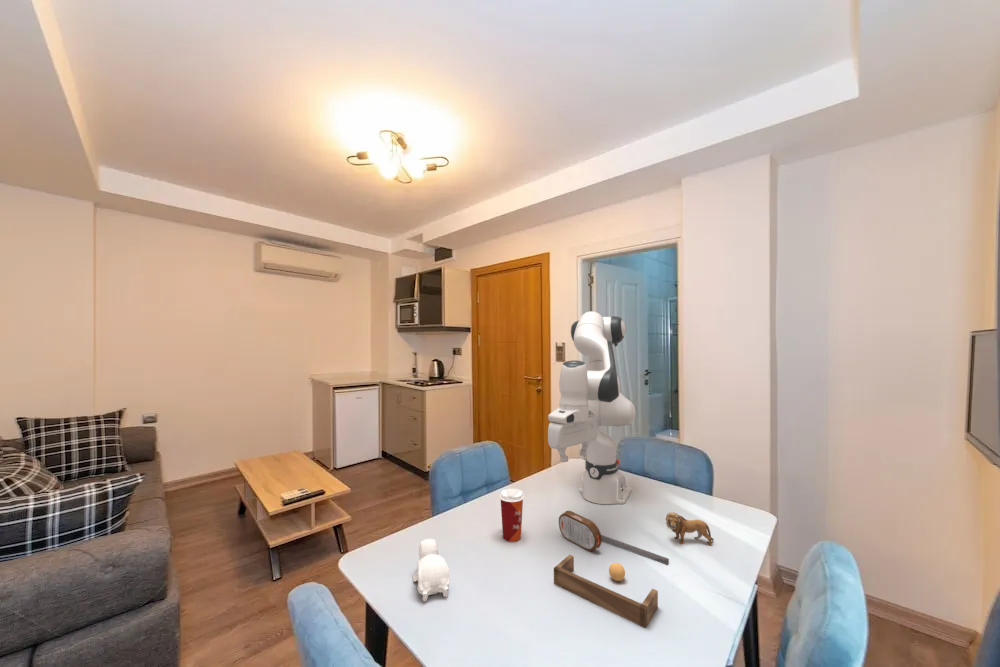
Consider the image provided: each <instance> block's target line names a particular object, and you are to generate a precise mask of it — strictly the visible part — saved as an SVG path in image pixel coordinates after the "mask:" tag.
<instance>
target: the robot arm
mask: <svg viewBox="0 0 1000 667" xmlns="http://www.w3.org/2000/svg"><path fill="white" fill-rule="evenodd" d="M625 335H626V324H625V322H624V320H623V318H622V317H620V316H614V315H611V316H602V315H601V314H600V313H599V312H597V311H593V310H592V311H591V310H590V311H586V312H585V313H583V314H582V315H581V316H580V318H579V320H576V321H574V322H573V323H572V324H571V328H570V337H571V339H572V341H573V345H574V347H575V349H576V350H577V351H578V352H579V353H580V354H581V355H583V356H584V357H585V356H586V357H587V359H588V360H587V364H586V362H584V361H581V360H574V359H572V360H567V361H564V362H563V363H562V364H561V367H560V373H559V375H560V376H559V384H558V385H559V393H560V400H559V406H558V407H557V408H556V409H555V410H553V411H552V412H550V413H549V414H548V416H547V418H548V421H549V424H548V426H547V427H548V428H547V444H548V446H549V448H551V449H553V450H557V452H558V454H559V456H560V462H561V463H568V462H569V456H568V455H567V454H566V451H567V448H569V447H575V446H577V445H580V444H581V449H579V456H581V457H586V458H585V463H584V465H585V466H584V467H585V470H584V471H582V472H583V473H582V480H581V487H580V488H579V489H578V492H579V493H581V495H582V497H583V499H585V500H587V501H588V502H591V503H593V504H594V503H595V504H599V505H613V504H614V505H615V504H618V505H619V504H620V505H625V504H626V502H627V500H628V498H629V496H630V495H631V493H632V488H631V487H630V486H628V485H626V477H625V475H624V474H622V472H620V471H619V468H618V466H619V465H621V460H620V459H617V458H616V455H617V454H616V448H617V447H616V442H615V440H614V439H613V438H612V437H611V436H610V435H608V434H606V433H604V432H603V431H602V430H600V427H616V428H617V427H626V426H627V427H628V426H630V425H632V424H633V422H634V421H635V418H636V416H637V415H636V412H637V411H636V409H635V406H634V403H633V402H632V401H631V400H629V398H626V396H624V394H622V392H621V382H620V378H619V376H618V373H617V364H616V357H615V351H614V347H618V345H619V343H621V342H622V340H624V338H625ZM613 345H614V346H613Z"/></svg>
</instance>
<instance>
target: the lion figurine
mask: <svg viewBox="0 0 1000 667" xmlns="http://www.w3.org/2000/svg"><path fill="white" fill-rule="evenodd" d="M665 524H666V527H667V528H668V529H670V530H671V531H672V532H673V533H675V536H674V538H673V539H674V540H676V541H678V540H679V539H680V540H679V541H678V543H679V544H680V545H684V544H685V535H686V533H688V534H692V533H697V536H694V538H693V539H694V540H695V541H699V540H700V539H701V538H702V537H704V538H705V539H706V540H708V541H707V542H706V545H708V546H712V545H713V541H715V540H714V538H713V537H712V535H711V530H710V527H709V525H708V524H707V523H706V522H705V521H704V520H701V519H690V520H689V519H686V518H685V517H684V516H682V515H679V514H678V513H676V512H671V511H670V512H668V513H667V514H666V516H665Z"/></svg>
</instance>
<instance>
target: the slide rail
mask: <svg viewBox="0 0 1000 667" xmlns="http://www.w3.org/2000/svg"><path fill="white" fill-rule="evenodd" d="M601 537H602V542H603V543H606V544H609V545H611V546H614V547H617V548H620V549H623V550H625V551H628V552H631V553H633V554H636V555H639V556H642V557H643V558H644V557H645V558H647V559H650V560H653V561H655V562H659V563H661V564H664V565H667V566H668V565H669V564H670V559H669V558H667V557H665V556H662V555H660V554H656V553H654V552H651V551H648V550H645V549H643V548H639V547H637V546H634V545H631V544H628V543H625V542H622V541H621V540H617V539H614V538H612V537H608V536H605V535H603V534H601Z"/></svg>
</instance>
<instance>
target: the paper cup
mask: <svg viewBox="0 0 1000 667" xmlns="http://www.w3.org/2000/svg"><path fill="white" fill-rule="evenodd" d="M499 499H500V507H501V508H500V511H501V513H500V514H501V527H502V529H501V530H502V537H503V540H504V541H506V542H510V543H516V542H518V541H520V540H521V537H522V524H523V523H522V522H523V507H524V506H523V504H524V499H525V495H524V493H523V490H520V489H518V488H506V489H503V490H502V491H501V493H500V495H499Z"/></svg>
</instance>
